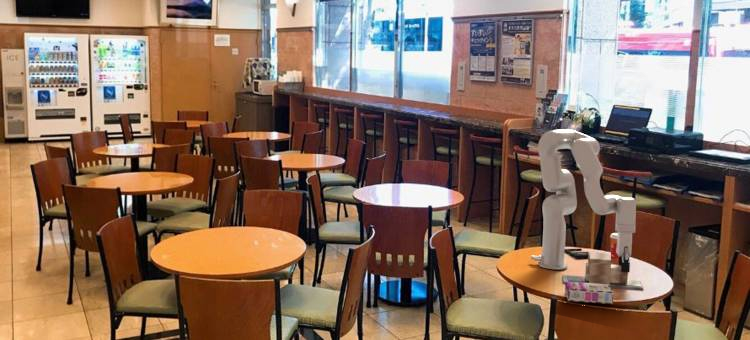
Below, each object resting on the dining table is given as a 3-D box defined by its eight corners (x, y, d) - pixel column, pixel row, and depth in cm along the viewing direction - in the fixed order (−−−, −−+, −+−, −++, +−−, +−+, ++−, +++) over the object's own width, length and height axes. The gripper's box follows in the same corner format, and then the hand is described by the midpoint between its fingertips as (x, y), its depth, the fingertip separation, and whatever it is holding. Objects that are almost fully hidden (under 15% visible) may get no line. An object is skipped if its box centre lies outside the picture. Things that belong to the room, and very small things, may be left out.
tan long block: (563, 284, 291) (564, 256, 289) (562, 276, 302) (563, 250, 301) (643, 290, 284) (645, 262, 282) (639, 282, 295) (641, 255, 294)
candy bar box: (567, 302, 267) (613, 304, 265) (568, 289, 267) (613, 291, 264) (564, 293, 278) (608, 296, 276) (565, 281, 278) (609, 283, 275)
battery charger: (594, 263, 328) (595, 254, 328) (575, 264, 326) (576, 255, 325) (580, 256, 341) (581, 248, 340) (562, 257, 338) (562, 248, 338)
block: (586, 280, 291) (586, 266, 291) (585, 276, 297) (586, 262, 296) (627, 283, 288) (628, 269, 287) (625, 279, 294) (626, 265, 293)
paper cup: (611, 261, 330) (613, 232, 328) (628, 264, 326) (630, 234, 324) (606, 264, 324) (607, 234, 322) (623, 267, 319) (625, 237, 318)
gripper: (613, 223, 298) (612, 264, 299) (617, 231, 281) (616, 273, 282) (632, 224, 296) (630, 265, 298) (638, 232, 279) (636, 275, 281)
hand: (623, 269), depth 290 cm, fingers open, 9 cm apart
